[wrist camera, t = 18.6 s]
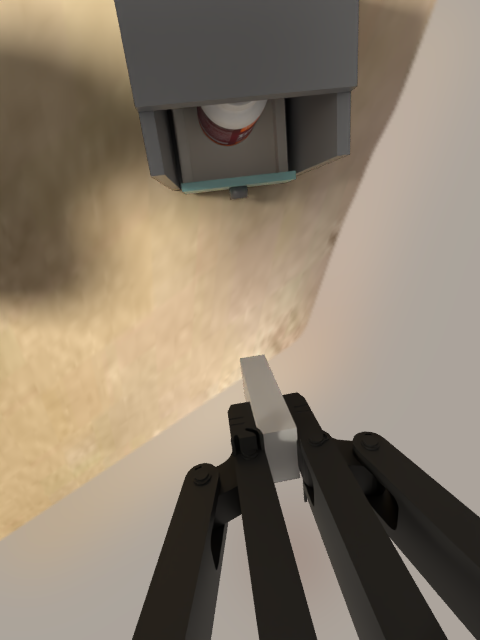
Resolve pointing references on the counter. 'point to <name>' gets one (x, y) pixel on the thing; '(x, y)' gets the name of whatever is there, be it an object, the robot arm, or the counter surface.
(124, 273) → the counter surface
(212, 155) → the tray
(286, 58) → the housing
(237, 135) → the pill bottle
